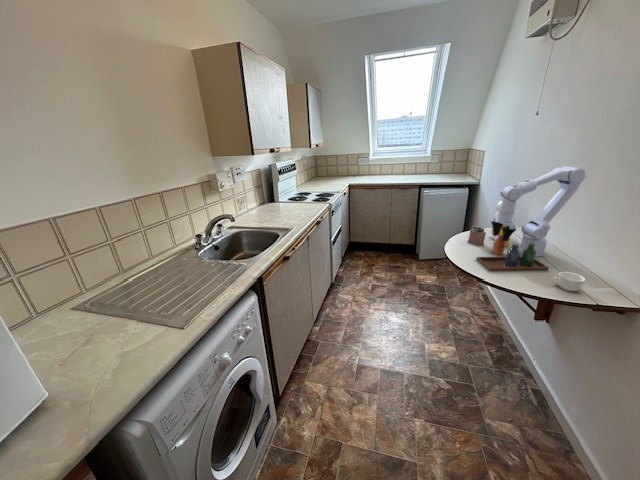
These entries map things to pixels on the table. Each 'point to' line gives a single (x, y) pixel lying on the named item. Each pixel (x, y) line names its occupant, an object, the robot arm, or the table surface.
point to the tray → (498, 265)
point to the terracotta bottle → (499, 246)
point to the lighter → (477, 236)
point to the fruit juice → (497, 215)
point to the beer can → (502, 233)
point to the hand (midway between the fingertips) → (500, 238)
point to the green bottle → (528, 256)
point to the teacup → (569, 281)
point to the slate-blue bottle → (512, 256)
